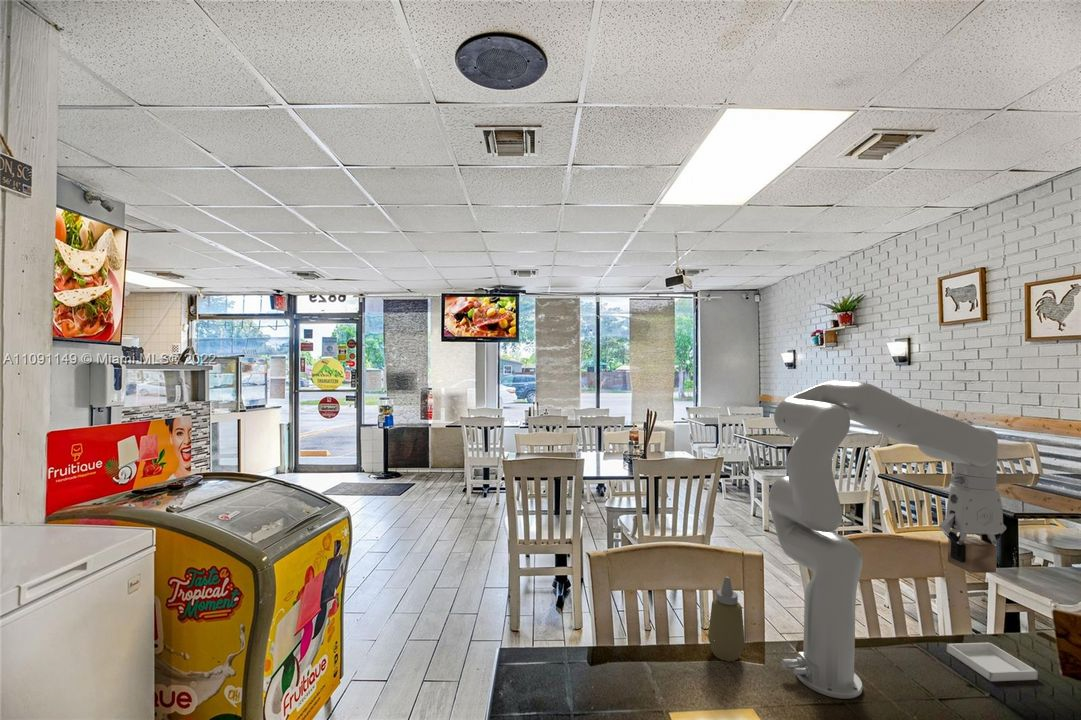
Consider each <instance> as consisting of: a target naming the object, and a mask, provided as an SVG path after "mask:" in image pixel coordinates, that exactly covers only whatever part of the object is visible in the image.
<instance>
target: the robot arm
mask: <svg viewBox="0 0 1081 720" xmlns="http://www.w3.org/2000/svg"><path fill="white" fill-rule="evenodd" d="M773 418H774V423H775V425H776V427H777V428H778V430H780V431H781V432H782V433H783V434H786V435H788V436H792V437H796V438H797V439H796V441H795V442H794V443H793V445H792V446H791V449H790V450H789V452H788V454H787V457H786V460H785V461H786V465H785V467H786V473H787V475H786V476H784V475H783V476H781V477H779V478H778V479H776V480H775V481H774V482H773V484H772V485H771V487H770V489H769V493H768V504H769V505H768V506H769V508H770V514H771V518H772V522H773V525H774V529H775V532H776V535H777V540H778V542H779V545H780V547H781V549H782V551H783V552H784V553H785V555H786V556H788V558H790V559H792V560H793V561H794V562H796V563H798V564H799V565H802V566H803V567H805V568H806V569H808V570H810V571H811V572H812V577H811V579H810V581H809V582H808V583H807V584H806V586H805V590H804V596H803V597H804V600H803V602H804V607H803V608H804V610H803V614H804V615H803V645H802V647H803V649H802V650H803V651H798V652H797V655H798V656H797V657H794V658H793V659H792V658H783V659H780V664H781V665H780V666H781V667H782V669H783V670H793V674H794V676H796V677H797V678H798V680H799V681H800V682H801V683H803V684H804V685H805V686H806V687H808V688H809V689H811V690H813V691H814V692H817V693H819V694H821V695H824V696H828V697H831V698H834V699H843V700H845V699H850V700H851V699H855V698H858V697H859V696H860V695H861V694H862V693H863V682H862V680H861V678H860V677H859V675H858V674H856V672H855V652H856V651H855V647H856V646H855V645H856V642H855V641H856V637H855V636H856V604H857V603H856V601H857V599H856V598H857V590H858V585H859V581H860V577H861V572H862V570H863V555H862V553H861V551H860V549H859V548H858V547H857V546H856V545H855V544H854V543H853V542H852V541H851V540H849V539H848V538H847V537H845V536H843V535H841V534H838V533H837V532H835V531H836V530H838V529H839V528H840V526H841V524H842V522H843V509H842V505H841V501H840V497H839V494H838V490H837V486H836V481H835V477H834V473H833V467H832V463H833V458H834V454H835V453H836V451H837V449H838V448H839V446H840V445H841V444H842V442H843V441H844V439H846V437H847V435H848V433H849V431H850V427H851V421H853V422H856V423H859V424H861V425H863V426H865V427H867V428H870V429H872V430H874V431H876V432H877V433H880V434H882V435H884V436H886V437H888V438H890V439H893V440H896V441H899V442H902V443H905V444H910V445H915V446H917V448H918V450H919V451H920V452H921V453H923V454H924V455H926V456H927V457H930V458H933V459H936V460H940V461H945V462H951V463H953V476H952V477H951V478H950V482H952V485H950V489H949V493H948V498H947V504H946V514H945V517H946V518H945V519H943V521H942V522H940V524H939V525H938V528H939V529H940V530H941V532H943V533H944V535H945V536H946V538H947V539H949V540H950V541H951V558H953V559H955V560H958V561H960V562H965V546H966V545H963V543H964V540H965V538H966V536H967V535H979V538H980V540H983V541H985V542H988V543H990V544H993V545H995V546H996V545H997V541H998V539H999V538H1000V537H1002V534H1003V533H1004V532H1005V531H1006V530H1007V526H1006V525H1005V524H1004V516H1003V515H1004V511H1003V503H1002V498H1001V494H1000V493H1001V492H1000V490H999V489H997V477H998V476H997V475H998V474H997V473H998V472H997V470H998V447H999V446H998V445H999V441H998V439H999V438H998V437H999V436H998V434H997V433H996V432H995V431H994V430H991V429H988V428H981V427H975V426H972V425H970V424H969V423H966V422H964V421H961V420H959V419H955V418H953V417H949V416H946V415H944V414H941V413H938V412H935V411H933V410H930V409H927V408H923V407H920V406H917V405H914V404H912V403H910V402H908V401H906V400H904V399H902V398H899V397H897V396H896V395H893V393H889V392H888V391H886V390H884V389H881V388H880V387H878V386H875V385H873V384H870V383H868V382H867V383H866V382H861V381H848V380H847V381H846V380H830V381H826V382H823V383H819V384H818V385H815V386H813V387H810V388H808V389H805V390H803V391H801V392H798V393H795V394H794V395H791V396H788V397H787V398H785V399H783V400H782V401H780V402H779V404H778V405H777V406H776V408H775V410H774V414H773ZM958 533H959V534H958Z"/></svg>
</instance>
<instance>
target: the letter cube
mask: <svg viewBox="0 0 1081 720" xmlns="http://www.w3.org/2000/svg"><path fill="white" fill-rule="evenodd" d="M947 539H948V538H947ZM947 544H948V545H947V562H948V563H949V564H951V565H954V566H956V567H958V568H960V569H963V570H964V571H966V572H969V573H970V574H975V573H977V574H980V573H981V574H982V573H983V574H985V573H986V574H987V573H989V574H991V573H992V574H993V573H997V557H998V556H997V553H998V552H997V550H998V545H996V544H995V545H993V544H990V543H988V542H985V541H983V540H981V538H980V539H979V538H977V537H975V536H974V535H970V536H967V535H966V538H965V540H964V543H963V545H966V546H965V562H960V561H958V560H955V559H953V558H951V541H950V540H949V539H948V542H947Z"/></svg>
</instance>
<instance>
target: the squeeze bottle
mask: <svg viewBox="0 0 1081 720" xmlns="http://www.w3.org/2000/svg"><path fill="white" fill-rule="evenodd" d="M721 586H722V587H721V588H720V589H717V590H716V592H715V593H716V594H715V595H716V596H715V599H713V600H712V602H711V608H710V609H711V610H710V617H709V625H708V631H707V632H708V633H707V638H708V641H709V645H710V644H712V645H710V649H711V651H713V652H712V654H713V655H714V657H716V658H718V659H720V660H721V661H724V660H725V662H730V661H733V662H735V661H734V660H737V659H738V658H739V659H740V657H741V654H742V653H743V650H744V648H745V644H746V640H745V630H744V629H745V628H744V618H743V616H744V615H743V607H742V605H741V604H740V602H738V600H739V595H738V593H737V592H735V591H734V589H733V586H732V582H731V578H730V577H729V576H724V579H723V583H722V585H721ZM714 640H715V641H714ZM731 643H736V644H731ZM739 659H738V660H739ZM738 660H737V661H738Z"/></svg>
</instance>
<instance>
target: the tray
mask: <svg viewBox="0 0 1081 720" xmlns="http://www.w3.org/2000/svg"><path fill="white" fill-rule="evenodd" d="M946 652H947V653H948V654H949V655H951V656H953V657H954V658H956V659H957V660H959V661H960V662H962V663H963V664H965V665H966V666H967V667H969V668H970V669H971V670H973V671H975V672H976V673H978V675H979V674H980V675H981V676H982V677H983V678H985V679H986V680H988V681H989V682H1009V681H1011V682H1012V681H1014V682H1015V681H1035V680H1038V678H1039V677H1038V676H1039V675H1038V674H1039V672H1038V670H1036V668H1034V667H1031V666H1030V665H1028V664H1027V663H1025V662H1023V661H1022V660H1020V659H1018V658H1017V657H1014V656H1013V655H1012V654H1010V653H1008V652H1006V651H1005V650H1003V649H1001V648H1000V647H998V646H996V645H995V644H993V643H991V642H967V643H965V642H964V643H963V642H960V643H946Z"/></svg>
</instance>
